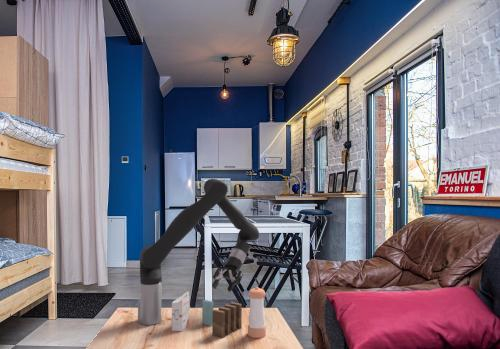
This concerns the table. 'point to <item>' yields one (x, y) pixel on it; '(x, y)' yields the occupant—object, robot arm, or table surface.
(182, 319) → the ink cartridge box
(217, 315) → the walnut tile
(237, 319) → the walnut tile
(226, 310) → the walnut tile
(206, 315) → the teal tile
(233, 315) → the walnut tile
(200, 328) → the table surface
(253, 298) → the pepper shaker
